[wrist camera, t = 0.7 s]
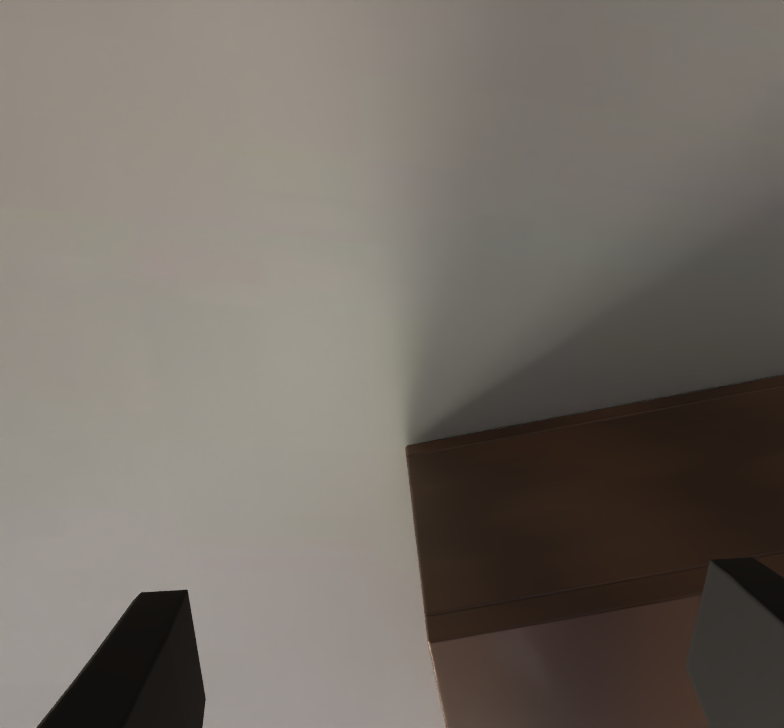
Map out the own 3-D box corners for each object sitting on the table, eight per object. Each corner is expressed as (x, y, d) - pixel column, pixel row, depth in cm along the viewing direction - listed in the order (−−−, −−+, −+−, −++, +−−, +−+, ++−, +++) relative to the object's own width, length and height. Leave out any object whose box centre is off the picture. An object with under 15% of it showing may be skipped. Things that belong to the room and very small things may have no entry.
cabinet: (899, 352, 20) (1225, 499, 12) (881, 673, 23) (1120, 934, 16) (404, 444, 20) (428, 641, 13) (465, 745, 24) (511, 1032, 16)
